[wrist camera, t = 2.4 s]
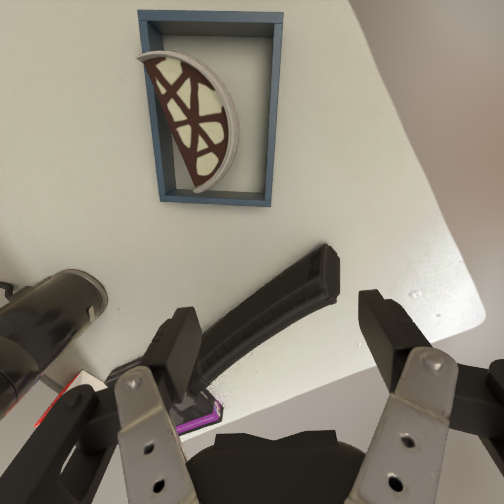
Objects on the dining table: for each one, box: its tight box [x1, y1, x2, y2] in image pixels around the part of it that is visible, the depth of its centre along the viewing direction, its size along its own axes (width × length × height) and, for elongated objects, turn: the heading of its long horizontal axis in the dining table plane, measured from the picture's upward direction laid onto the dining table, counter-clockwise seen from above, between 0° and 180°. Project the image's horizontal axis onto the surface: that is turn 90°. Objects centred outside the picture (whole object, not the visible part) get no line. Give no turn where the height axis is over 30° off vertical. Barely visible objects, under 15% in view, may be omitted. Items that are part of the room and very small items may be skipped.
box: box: [104, 357, 224, 436], centre depth 51 cm, size 14×4×20 cm
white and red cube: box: [34, 370, 108, 428], centre depth 50 cm, size 8×8×8 cm
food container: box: [136, 51, 239, 193], centre depth 27 cm, size 12×6×10 cm, turn 18°
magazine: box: [185, 243, 340, 400], centre depth 37 cm, size 17×3×30 cm
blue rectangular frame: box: [137, 10, 284, 207], centre depth 29 cm, size 14×18×4 cm
